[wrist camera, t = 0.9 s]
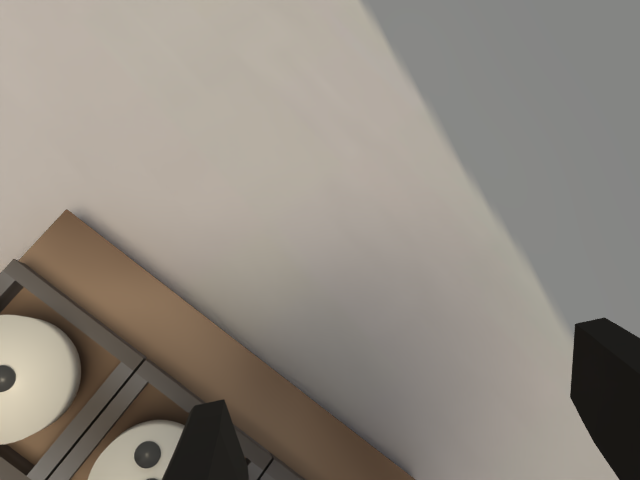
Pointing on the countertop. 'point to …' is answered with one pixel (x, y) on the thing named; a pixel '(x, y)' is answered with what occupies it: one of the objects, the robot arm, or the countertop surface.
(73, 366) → the button one
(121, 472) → the button three
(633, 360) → the robot arm
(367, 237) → the countertop surface
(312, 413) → the button panel
